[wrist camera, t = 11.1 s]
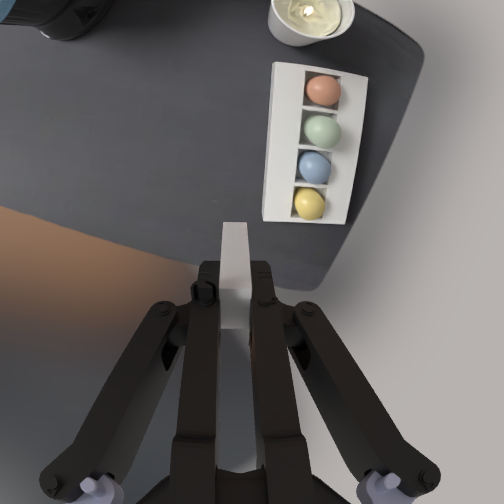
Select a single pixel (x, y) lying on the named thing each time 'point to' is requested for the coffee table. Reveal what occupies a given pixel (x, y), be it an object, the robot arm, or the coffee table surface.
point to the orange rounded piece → (322, 90)
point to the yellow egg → (308, 203)
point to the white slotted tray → (294, 142)
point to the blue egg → (313, 167)
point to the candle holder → (309, 20)
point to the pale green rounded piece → (322, 131)
